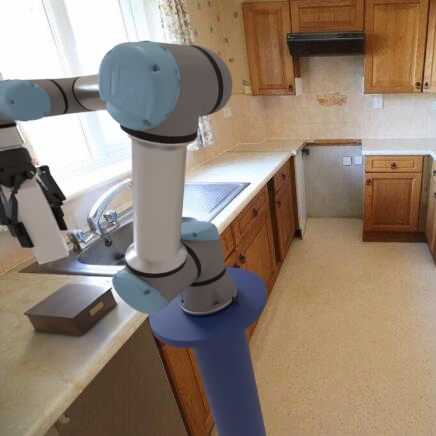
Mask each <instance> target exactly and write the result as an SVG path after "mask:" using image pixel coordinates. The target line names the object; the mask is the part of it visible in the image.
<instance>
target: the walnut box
mask: <svg viewBox="0 0 436 436" xmlns="http://www.w3.org/2000/svg"><path fill="white" fill-rule="evenodd" d="M112 289H113V286H107V285H95V284H94V285H93V284H81V283H69V282H68V283H66V284H64V285H63V286H62V287H60V288H59V289H57V290H55V291H54V292H52V293H51V294H49V295H48V296H46V297H45V298H44V299H42V300H40V301H39V302H37V303H36V304H35V305H34V306H32V307H30V308H29V309H28V310H26V311H24V312H23V315H24V316H26V317H27V318H28V320H29V322H30V324H31V325H32V327H33V328H34V331H36V332H44V333H45V332H46V333H53V334H62V335H64V334H65V335H73V336H81V337H82V336H83V335H84V334H85V333H86V332H87V331H89V329H92V327H93V326H94V325H96V324H97V322H99V321H100V320H102V318H103V317H104V316H106V315H107V314H108V313H109V312H110V311H111V310H112V309H113V308H115V307H116V306H117V305H118V304H117V301H116V299H115V296H114V293H113V290H112Z"/></svg>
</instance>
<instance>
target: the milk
mask: <svg viewBox="0 0 436 436" xmlns="http://www.w3.org/2000/svg"><path fill="white" fill-rule="evenodd" d="M30 172H31V173H32V174H33V175H34V173H33V172H32V171H30ZM36 178H37V177H36V176H35V175H34V177H33V178H32V179H31V180H30V179H27V180H26V181H25V182H23V183H22V184H21V185H20V189H19V190H18V194H15V197H16V199H17V201H18V222H23V224H24V226H25V228H26V230H27V232H28V234H29V236H30V239H31V241H32V243H33V245H34V247H33V248H30V249H31V250H32V253H33V255H34V257H35V259H36V261H37V262H38V265H43V264H44V265H45V264H47V263H50V262H54V261H57V260H60V259H64V258H68V257H69V256H70V254H69V247H68V244H67V241H66V239H65V237H64V235H63V232H62V231H61V230H60V228H59V226H58V224H57V221H56V219H55V217H54V215H53V212H52V210H51V208H50V207H51V206H50V205H49V203H48V201H47V199H46V197H45V196H44V194H43V192H42V190H41V188H40V186H39V184H38V183H37V182H36ZM2 187H3V192H4V195H5V197H6V199H7V201H8V202H9V199H10V196H11V193H12V192H11V190H12V188H7V187H5V186H3V185H1V188H2ZM4 195H3V196H4Z"/></svg>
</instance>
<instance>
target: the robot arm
mask: <svg viewBox="0 0 436 436" xmlns="http://www.w3.org/2000/svg"><path fill="white" fill-rule="evenodd" d="M233 85H234V84H233V77H232V74H231V71H230V68H229V67H228V65H227V63H226V62H225V61H224V59H223V58H222V57H220V56H219V54H217V53H216V52H214V51H213V50H212V49H210V48H207V47H205V46H202V45H197V44H181V43H179V44H178V43H170V42H169V43H168V42H159V41H151V40H139V41H125V42H121V43H118V44H116V45H114V46H113V47H112V48H111V49H109V50H108V51H107V52H106V53H105V55H103V58H102V59H101V62H100V65H99V67H98V73H96V74H89V75H81V76H74V77H60V78H34V79H33V78H32V79H31V78H30V79H19V78H18V79H17V78H16V79H9V78H8V79H3V80H0V185H1V192H0V226H6V228H7V229H8V231H9V234H10V235H11V236H12V237H13V238H16V239H17V241H18V243H19V244H20V247H21V248H22V249H31V248H33V247H34V245H33V243H32V241H31V239H30V236H29V234H28V232H27V230H26V228H25V226H24V224H23V222H18V201H17V199H16V197H15V194H18V190H19V189H20V185H21V184H22V183H23V182H25V181H26V180H27V179H30V180H31V179H32V178H33V177H34V175H35V177H36V175H37V176H38V178H37V177H36V182H37V183H38V184H39V186H40V188H41V190H42V192H43V194H44V196H45V197H46V199H47V201H48V203H49V206H50V208H51V210H52V212H53V215H54V217H55V219H56V221H57V224H58V226H59V228H60V230H61V232H62V231H65V232H66V231H68V230H69V228H68V226H67V224H66V221H65V219H64V217H65V213H64V210H63V208H62V207H63V205H64V202H65V201H66V200H67V197H66V195H65V194H64V192H63V190H62V189H61V188H60V186H59V185H58V183H57V181H56V180H55V178H54V176H53V175H52V173H51V170H50V166H49V165H47V164H37V165H34V163H32V162H33V158H32V156H31V153H30V151H29V149H28V147H27V146H26V145H24V144H25V143H26V142H25V139H24V136H23V134H22V133H21V130H20V128H19V126H18V123H17V122H16V121H20V122H30V121H31V122H33V121H38V120H41V119H43V118H50V117H57V116H63V115H72V114H80V113H90V112H91V113H92V112H98V111H99V112H100V111H101V112H102V111H107V113H108V114H109V115H110V117H111V118H112V119H113V120H114V121H115V122H117V123H118V124H119V129H120V131H121V132H122V133H123V134H124V135H126V136H127V137H128V138H129V139H130V140H131V142H130V143H131V144H130V147H131V182H132V183H131V186H132V187H131V189H132V228H133V229H132V231H133V232H132V234H133V236H132V237H133V242H132V243H131V244H130V245H128V247H127V249H126V250H125V254H124V260H125V261H124V262H125V263H124V264H125V266H124V268H122V269H119V270H117V271H116V273H115V274H114V275H113V276H112V279H111V283H112V288H113V289H114V291H115V292H116V294H117V295H118V297H119V298H121V300H122V301H123V302H124V303H125V304H127V305H128V306H129V307H130V308H132V309H133V310H135V311H137V312H139V313H142V314H145V315H149V314H153V313H156V312H158V311H159V310H161V309H162V308H163V307H165V306H167V305H168V304H169V303H170V302H171V301H172V300H173V299H174V298H176V297H177V296H178V295H179V294H180V306H181V309H182V311H183V312H184V313H185V314H186V315H188V316H191V317H208V316H212V315H216V314H218V313H220V312H222V311H224V310H226V309H227V308H229V307H230V306H231V305H232V304H233V303H234V302H236V303H238V302H239V300H238V299H237V296H238V291H237V286H236V284H235V282H234V281H233V280H232V278H231V277H230V275H229V273H228V272H227V270H226V268H227V267H226V262H225V261H226V260H225V256H224V251H223V245H222V241H221V236H220V233H219V229H218V227H217V226H216V224H215V223H212V222H210V221H205V220H191V221H186V222H183V210H184V199H185V198H184V196H185V185H186V183H185V182H186V171H187V169H186V167H187V156H188V155H187V154H188V146H189V145H191V144H193V143H195V141H196V140H198V136H199V135H198V133H199V123H200V118H201V117H202V118H203V117H206V116H209V115H213V114H216V113H217V112H220V111H221V110H222V109H223V108H224V107H225V106H226V105H227V104H228V103H229V101H230V99H231V97H232V94H233V93H232V92H233ZM30 171H32V172H33V173H34V175H33V174H32V173H31V172H30ZM2 185H3V186H5V187H7V188H12V190H11V192H12V193H11V196H10V199H9V202H8V201H7V199H6V197H5V195H4V192H3V187H2ZM2 194H3V195H2ZM2 196H3V198H2Z"/></svg>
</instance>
